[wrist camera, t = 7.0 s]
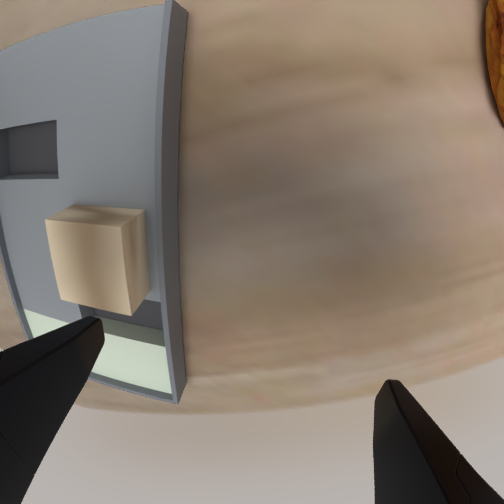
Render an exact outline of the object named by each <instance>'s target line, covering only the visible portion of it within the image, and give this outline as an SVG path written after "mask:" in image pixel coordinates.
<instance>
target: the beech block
mask: <svg viewBox="0 0 504 504" xmlns="http://www.w3.org/2000/svg"><path fill="white" fill-rule="evenodd" d="M45 223H46V230H47V236H48V242H49V248H50V253H51V258H52V263H53V268H54V272H55V277H56V281H57V286H58V290H59V294H60V298H61V300H65V301H69V302H73V303H77V304H81V305H85V306H89V307H93V308H97V309H102V310H106V311H110V312H115V313H120V314H124V315H129V316H132V315H133V313H134V312H135V311H136V309H137V308H138V307H139V305H140V304H141V303H142V301H143V300H144V299H145V297H146V296H147V295H148V293H149V292H150V291H151V289H150V279H149V267H148V254H147V239H146V221H145V210H143V209H130V208H117V207H103V206H88V205H71V206H69V207H67V208H66V209H64V210H62V211H60V212H58V213H56V214H54V215H52V216H51V217H49V218H47V219H45Z"/></svg>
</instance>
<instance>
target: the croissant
mask: <svg viewBox="0 0 504 504" xmlns="http://www.w3.org/2000/svg"><path fill="white" fill-rule="evenodd" d="M485 27H486V54H487V64H488V72H489V77H490V82H491V87H492V91H493V94H494V96H495V99H496V103H497V106H498V110H499V114H500V117H501V119H502V122H503V124H504V0H489V1H488V5H487V7H486V21H485Z"/></svg>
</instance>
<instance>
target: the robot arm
mask: <svg viewBox="0 0 504 504" xmlns="http://www.w3.org/2000/svg"><path fill="white" fill-rule="evenodd" d="M104 342H105V335H104V329H103V323H102V320H101V319H100V318H98V317H95V316H91V315H90V316H87V317H84V318H82V319H79V320H77V321H74V322H72V323H69V324H67V325H65V326H62V327H60V328H57V329H55V330H52V331H50V332H47V333H45V334H42V335H40V336H38V337H35V338H33V339H30V340H28V341H25V342H23V343H20V344H18V345H15V346H13V347H11V348H8V349H6V350H4V351H1V352H0V504H21V502H22V500H23V498H24V496H25V494H26V492H27V490H28V488H29V486H30V484H31V481H32V479H33V477H34V474H35V473H36V471H37V469H38V467H39V465H40V463H41V461H42V460H43V457H44V456H45V454H46V452H47V450H48V448H49V446H50V444H51V443H52V441H53V439H54V437H55V435H56V433H57V432H58V430H59V428H60V426H61V424H62V423H63V421H64V419H65V417H66V416H67V414H68V412H69V410H70V409H71V407H72V405H73V404H74V402H75V400H76V398H77V397H78V395H79V393H80V392H81V390H82V388H83V387H84V385H85V383H86V381H87V379H88V377H89V375H90V373H91V371H92V369H93V367H94V364H95V362H96V360H97V358H98V356H99V354H100V352H101V350H102V348H103V345H104ZM374 408H375V409H374V433H373V458H374V480H375V481H374V482H375V483H374V485H375V504H504V499H502V497H501V496H500V495H498V493H497V492H496V491H494V489H493V488H492V487H491V486H489V485H488V483H486V481H485V480H484V479H483V478H482V477H481V476H480V475H479V474H478V473H477V472H476V471H475V470H474V468H473V467H472V466H471V465H470V464H469V463H468V462H467V461H466V459H465V458H464V457H463V455H462V454H460V452H459V451H458V449H457V448H456V447H455V446H454V445H453V443H452V442H451V441H450V440H449V439H448V438H447V436H446V435H445V434H444V433H443V431H442V430H441V429H440V428H439V427H438V425H437V424H436V423H435V422H434V421H433V420H432V418H431V417H430V416H429V415H428V414H427V412H426V411H425V410H424V409H423V408H422V406H421V405H420V404H419V403H418V402H417V401H416V399H415V398H414V397H413V396H412V395H411V394H410V393H409V391H408V390H407V389H406V388H405V387H404V385H403V384H402V383H401V382H400V381H399V380H391V379H388V380H386V381H385V382H384V384H383V386H382V388H381V389H380V391H379V393H378V394H377V396H376V399H375V407H374Z"/></svg>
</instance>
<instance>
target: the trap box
mask: <svg viewBox="0 0 504 504" xmlns="http://www.w3.org/2000/svg"><path fill="white" fill-rule="evenodd" d="M187 19H188V12H187V11H186V10H185V9H184V8H183V7H181V6H180V5H179V4H178V3H177V2H176V1H174V0H165V4H162V5H155V6H148V7H142V8H136V9H131V10H125V11H121V12H116V13H111V14H107V15H103V16H98V17H94V18H91V19H87V20H83V21H80V22H76V23H73V24H69V25H66V26H63V27H60V28H57V29H54V30H51V31H48V32H45V33H42V34H40V35H37V36H34V37H32V38H29V39H27V40H24V41H22V42H19V43H17V44H14V45H12V46H10V47H8V48H5V49H3V50H1V51H0V257H1V261H2V265H3V269H4V273H5V276H6V280H7V283H8V287H9V290H10V293H11V297H12V300H13V303H14V306H15V309H16V312H17V315H18V318H19V321H20V323H21V326H22V329H23V331H24V334H25V337H26V339H27V341H28V340H30V339H33V338H35V337H38V336H40V335H42V334H45V333H47V332H50V331H52V330H55V329H57V328H60V327H62V326H65V325H67V324H69V323H72V322H74V321H77V320H79V319H82V318H84V317H87V316H90V315H91V316H95V317H98V318H100V319H101V320H102V323H103V329H104V335H105V342H104V345H103V348H102V350H101V352H100V354H99V356H98V358H97V360H96V362H95V364H94V367H93V369H92V371H91V373H90V375H89V377H88V379H89V380H92V381H95V382H98V383H101V384H104V385H107V386H110V387H113V388H117V389H120V390H123V391H127V392H130V393H134V394H137V395H141V396H145V397H149V398H153V399H157V400H161V401H165V402H169V403H173V404H178V403H179V401H180V398H181V396H182V393H183V390H184V388H185V385H186V383H187V382H186V371H185V360H184V347H183V334H182V319H181V301H180V280H179V250H178V153H179V124H180V104H181V87H182V73H183V60H184V48H185V38H186V28H187ZM71 205H88V206H103V207H117V208H130V209H143V210H145V221H146V239H147V254H148V267H149V279H150V289H151V291H150V292H149V293H148V295H147V296H146V297H145V299H144V300H143V301H142V303H141V304H140V305H139V307H138V308H137V309H136V311H135V312H134V313H133V315H132V316H129V315H124V314H120V313H115V312H110V311H106V310H102V309H97V308H93V307H89V306H85V305H81V304H77V303H73V302H69V301H65V300H61V298H60V294H59V290H58V286H57V281H56V277H55V272H54V268H53V263H52V258H51V253H50V248H49V242H48V236H47V230H46V223H45V219H47V218H49V217H51V216H52V215H54V214H56V213H58V212H60V211H62V210H64V209H66V208H67V207H69V206H71Z"/></svg>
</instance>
